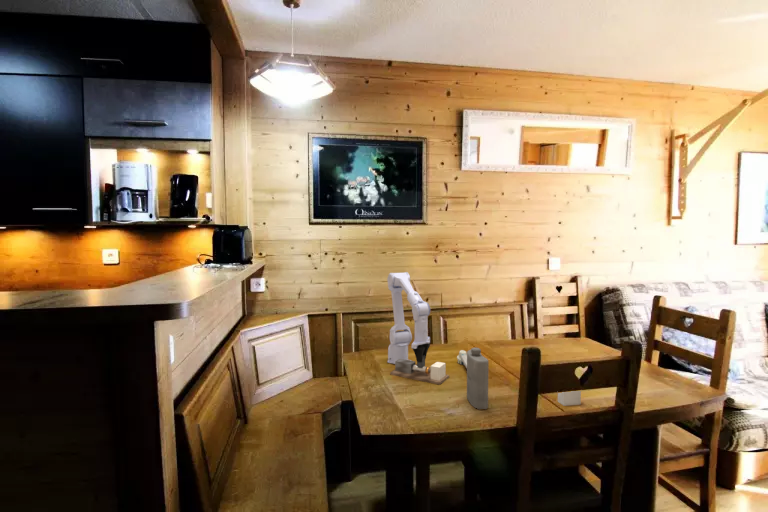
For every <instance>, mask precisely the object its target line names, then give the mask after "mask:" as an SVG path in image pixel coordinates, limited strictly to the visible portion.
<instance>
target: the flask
mask: <svg viewBox="0 0 768 512" xmlns="http://www.w3.org/2000/svg"><path fill="white" fill-rule="evenodd" d="M481 352H482V349H481V348H479V347H471V349H469V350H467V351H466V353H467V368H466V398H467V401H468V403H469V404H470V406H472V407H474V408H475V409H476V408H477V409H476V410H480V409H485V410H487V409H488V408H489V360H488V358H486V357H485V356H484V355H483V354H482V353H481Z"/></svg>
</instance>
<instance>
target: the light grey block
mask: <svg viewBox="0 0 768 512" xmlns="http://www.w3.org/2000/svg"><path fill="white" fill-rule="evenodd" d="M581 392H582V390H581V391H571V392H562V393H558V392H557V402H558V403H559V404H560V405H562V406H564V407H565V406H566V407H567V406H578V405H579V406H580V405H582V403H581V399H582V393H581Z"/></svg>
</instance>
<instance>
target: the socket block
mask: <svg viewBox="0 0 768 512" xmlns="http://www.w3.org/2000/svg"><path fill="white" fill-rule="evenodd" d="M430 368H431V379H433V380H438V381H440V380H441V379H442V378H443V377H445V376H446V375H447V374H446V372H447V371H446V368H447V367H446V362H441V361H436V362H435V363H433V364H431V365H430Z"/></svg>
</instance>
